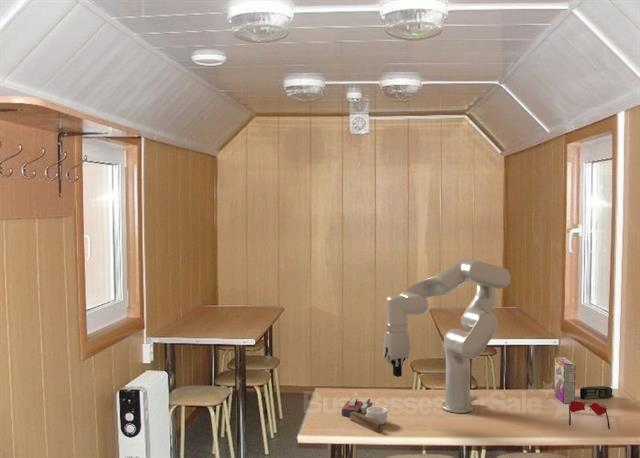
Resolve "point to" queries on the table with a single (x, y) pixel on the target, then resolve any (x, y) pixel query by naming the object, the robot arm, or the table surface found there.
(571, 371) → the candy bar box
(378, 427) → the stop bar
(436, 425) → the table surface
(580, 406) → the glasses
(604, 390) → the mobile phone
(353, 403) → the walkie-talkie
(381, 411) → the teacup
